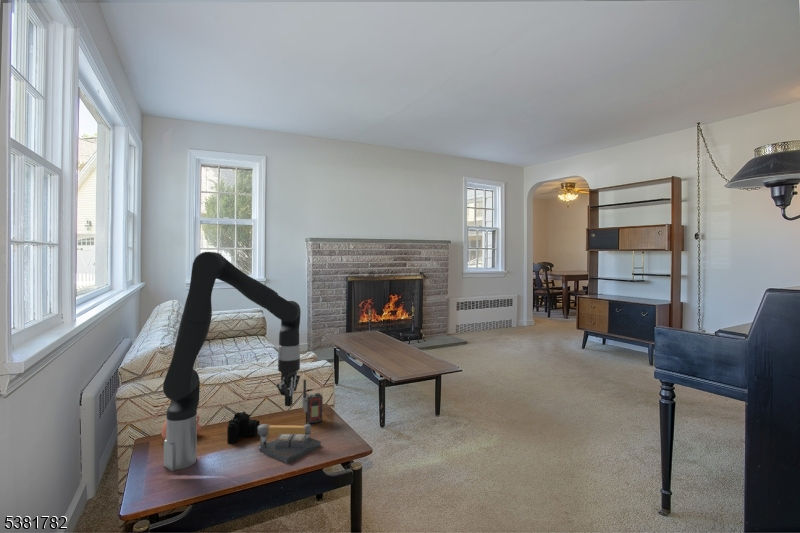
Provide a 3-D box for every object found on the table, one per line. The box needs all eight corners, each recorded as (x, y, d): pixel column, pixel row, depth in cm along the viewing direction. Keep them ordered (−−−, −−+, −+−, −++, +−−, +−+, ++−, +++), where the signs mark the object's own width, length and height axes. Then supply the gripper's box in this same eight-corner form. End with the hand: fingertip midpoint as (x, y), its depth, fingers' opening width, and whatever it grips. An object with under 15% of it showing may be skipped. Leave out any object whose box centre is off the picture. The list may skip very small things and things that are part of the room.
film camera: (248, 445, 153) (249, 421, 153) (223, 444, 153) (224, 421, 153) (263, 428, 168) (263, 407, 168) (241, 428, 168) (241, 407, 168)
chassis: (286, 463, 139) (287, 451, 139) (260, 451, 147) (260, 440, 147) (320, 446, 152) (320, 435, 152) (294, 436, 160) (294, 426, 160)
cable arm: (255, 435, 149) (256, 427, 149) (260, 430, 153) (260, 422, 153) (309, 435, 149) (309, 427, 149) (311, 430, 153) (311, 423, 153)
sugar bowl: (165, 432, 163) (165, 407, 163) (203, 428, 168) (203, 404, 168) (157, 445, 152) (157, 418, 152) (198, 440, 156) (198, 414, 156)
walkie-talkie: (302, 427, 170) (302, 380, 170) (300, 423, 174) (301, 377, 174) (322, 424, 173) (323, 378, 173) (320, 420, 177) (321, 375, 177)
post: (262, 450, 148) (262, 437, 148) (255, 447, 150) (255, 434, 150) (271, 446, 151) (271, 433, 151) (264, 444, 154) (264, 431, 154)
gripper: (289, 362, 135) (289, 413, 136) (307, 353, 148) (306, 400, 148) (269, 360, 137) (269, 411, 137) (288, 352, 150) (288, 398, 150)
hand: (288, 405), depth 143 cm, fingers closed
